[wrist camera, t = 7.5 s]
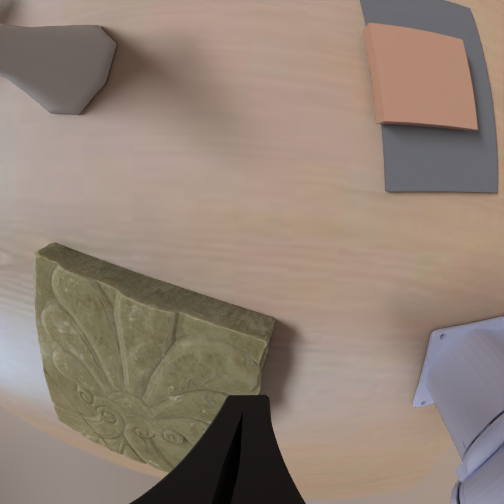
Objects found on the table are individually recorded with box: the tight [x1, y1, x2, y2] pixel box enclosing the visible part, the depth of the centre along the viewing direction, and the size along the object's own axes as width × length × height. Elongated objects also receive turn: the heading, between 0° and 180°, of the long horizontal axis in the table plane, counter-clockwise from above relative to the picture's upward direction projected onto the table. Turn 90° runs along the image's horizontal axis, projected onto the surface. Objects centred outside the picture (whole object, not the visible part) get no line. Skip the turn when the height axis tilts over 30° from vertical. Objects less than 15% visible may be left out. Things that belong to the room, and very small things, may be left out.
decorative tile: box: [34, 243, 275, 473], centre depth 22 cm, size 19×20×4 cm
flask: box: [0, 23, 117, 114], centre depth 11 cm, size 7×7×10 cm
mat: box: [360, 0, 498, 193], centre depth 14 cm, size 9×14×1 cm, turn 5°
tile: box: [363, 23, 478, 131], centre depth 13 cm, size 2×6×6 cm
